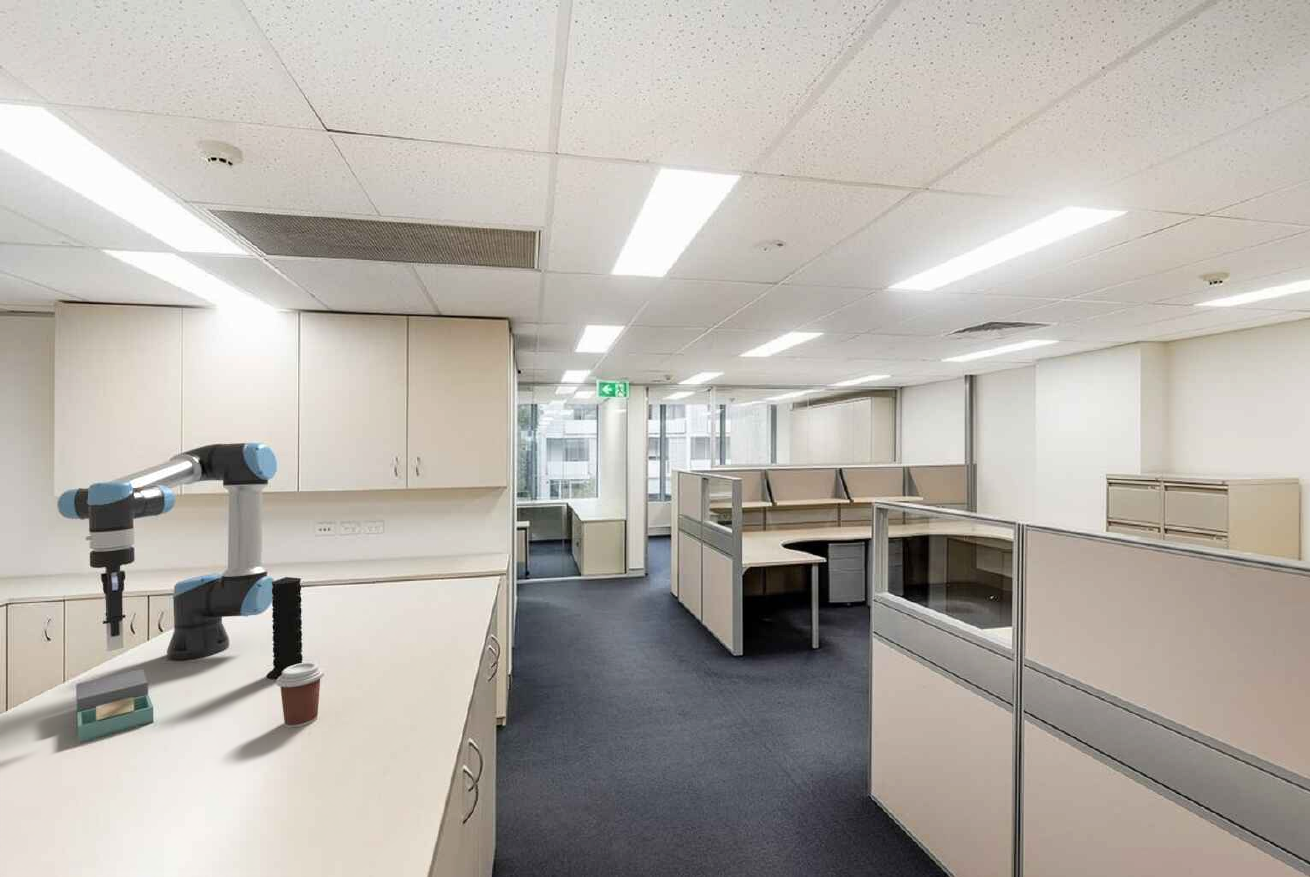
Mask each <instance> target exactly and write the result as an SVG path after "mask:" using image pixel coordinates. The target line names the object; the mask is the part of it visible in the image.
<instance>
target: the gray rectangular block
mask: <svg viewBox="0 0 1310 877" xmlns="http://www.w3.org/2000/svg"><path fill="white" fill-rule="evenodd" d="M75 686H76V687H75V688H76V691H75V692H76V693H75V694H76V695H75V696H76V697H75V698H76V699H75V700H76V701H75V702H76V723H77V726H78V712H82V711H86V710H90V709H94V708H96V706H99V705H103V704H107V703H111V702H115V701H119V700H123V699H127V698H131V697H133V698H137V697H141V696H145V695H149V682H148V680H147V676H146V674H145V672H144V670H143V668H141V669H136V670H134V671H128V672H123V673H120V674H115V675H111V676H107V677H102V678H97V679H93V680H89V681H84V682H80V683H76V685H75Z"/></svg>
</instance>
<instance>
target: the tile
mask: <svg viewBox="0 0 1310 877" xmlns="http://www.w3.org/2000/svg"><path fill="white" fill-rule="evenodd" d="M133 711H134V699H133V697H131V698H127V699H123V700H119V701H115V702H111V703H107V704H103V705H99V706H96V721H99V720H103V719H107V718H110V717H114V716H118V715H122V714H126V713H129V712H133Z"/></svg>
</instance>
